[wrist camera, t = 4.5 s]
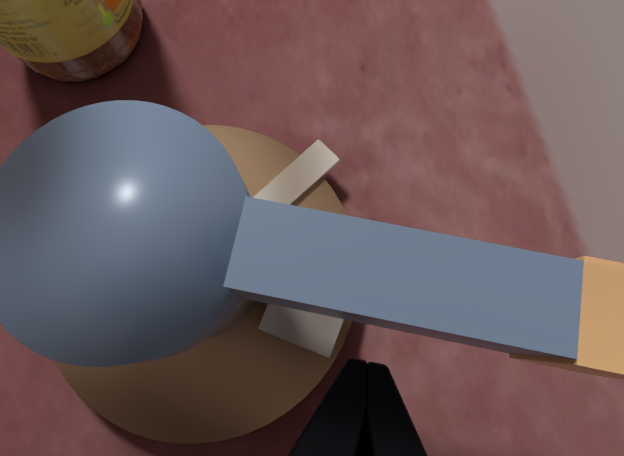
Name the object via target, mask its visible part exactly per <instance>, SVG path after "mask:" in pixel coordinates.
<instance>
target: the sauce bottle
mask: <svg viewBox="0 0 624 456" xmlns="http://www.w3.org/2000/svg"><path fill="white" fill-rule="evenodd" d="M142 19H143V13H142V3H141V1H140V0H0V46H1V47H3V48H4V49H5V50H7V51H8V52H9V53H11V54H12V55H14V56H16V57H18V58H19V59H20V60H21V61H23V62H24V63H25V64H26V65H27V66H29V67H30V68H31V69H33V70H34V71H35V72H38V73H41V74H43V75H45V76H47V77H50V78H52V79H55V80H58V81H64V82H66V81H74V82H81V81H85V80H87V79H92V78H97V77H99V76H100V75H102V74H104V73H106V72H109V71H111V70H112V69H113V68H115V67H117V66H118V65H120V64H121V63H122V62H124V61H125V60H126V59H127V58H128V56H129V55H130V54H131V52H132V51H133V50H134V48H135V46H136V44H137V42H138V40H139V38H140V34H141V29H142Z"/></svg>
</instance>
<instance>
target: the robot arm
mask: <svg viewBox="0 0 624 456" xmlns="http://www.w3.org/2000/svg"><path fill="white" fill-rule="evenodd" d="M288 456H427V454H426V451H425V449H424V447H423V445H422V442H421V440H420V438H419V436H418V433H417V431H416V429H415V427H414V424H413V422H412V420H411V418H410V415H409V413H408V411H407V409H406V406H405V404H404V402H403V400H402V398H401V395H400V393H399V391H398V389H397V386H396V384H395V382H394V380H393V377H392V375H391V373H390V371H389V369H388V367H387V366H386V365H384V364H380V363H375V362H368V363H367V362H366V361H365V360H361V359H356V358H348V359H347V360H346V362H345V364H344V365H343V367H342V368H341V370H340V372H339V373H338V375H337V377H336V378H335V380H334V381H333V383H332V385H331V386H330V388H329V389H328V391H327V393H326V394H325V396H324V398H323V399H322V401H321V402H320V404H319V406H318V407H317V409H316V411H315V412H314V414H313V415H312V417H311V419H310V420H309V422H308V424H307V425H306V427H305V428H304V430H303V432H302V433H301V435H300V436H299V438H298V440H297V441H296V443H295V445H294V446H293V448H292V449H291V451H290V453H289V454H288Z"/></svg>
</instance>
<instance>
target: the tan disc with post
mask: <svg viewBox="0 0 624 456" xmlns="http://www.w3.org/2000/svg"><path fill="white" fill-rule="evenodd" d="M202 126H204V127H205V128H207V129H208V130H209V131H210V132H211V133H212V134H213V135H214V136H215V137H216V138H217V139H218V140H219V141H220V143H221V144H222V145H223V147H224V148H225V149H226V150H227V152H228V153H229V155H230V157H231V158H232V160H233V162H234V164H235V165H236V167H237V169H238V171H239V173H240V175H241V177H242V179H243V181H244V183H245V185H246V187H247V189H248V191H249V193H250V196H251V197H253V198H258V199H263V200H268V201H274V202H279V203H284V204H289V205H294V206H300V207H305V208H310V209H315V210H321V211H326V212H331V213H336V214H341V215H346V213H345V211H344V208H343V206H342V204H341V202H340V201H339V199H338V197H337V196H336V194H335V192H334V191H333V189H332V187H331V186H330V185H329V184H328V182H327V181H326V180H325V179H324V178H323V176H324V175H325V174H326V173H327V172H328V171H329V170H330V169H332V168H333V167H334V166H335V165H336V164H337V163H338V162H339V161H340V159H339V158H338V157H337V156H336V155H334V154H333V153H332V152H331V151H330V150H329V149H328V148H327V147H326V146H325V145H324V144H323V143H322V142H321V141H320V140H319V139H318V140H317V141H316V142H315V143H313V144H312V145H311V146H310V147H309V148H308V149H307V150H306V151H304V152H303V153H302V154H301V155H299V154H298V153H296V152H295V151H293V150H292V149H291V148H289V147H287V146H285V145H284V144H282V143H280V142H278V141H276V140H274V139H272V138H270V137H267V136H264V135H262V134H259V133H257V132H253V131H249V130H245V129H241V128H237V127H229V126H221V125H202ZM351 323H352V321H350V320H345V319H340V318H335V317H331V316H326V315H321V314H316V313H311V312H306V311H302V310H297V309H292V308H287V307H282V306H277V305H273V304H268V303H263V302H258V301H253V300H248V299H246V298H243V300H242V302H241V303H240V305H239V306H238V308H237V309H236V311H235V312H234V313H233V314H232V316H231V317H230V318H229V319H228V320H227V321H226V322H225V323H224V324H223V325H222V326H221V327H220V328H219V329H218V330H217V331H216V332H215V333H214V334H212V335H211V336H210V337H208V338H207V339H206V340H204V341H203V342H201V343H199V344H198V345H196V346H194V347H192V348H191V349H189V350H186V351H184V352H182V353H179V354H177V355H174V356H171V357H167V358H163V359H160V360H154V361H147V362H139V363H132V364H125V365H117V366H110V367H83V366H76V365H69V364H65V363H62V362H58V361H55V362H56V364H57V366H58V367H59V369H60V371H61V372H62V374H63V376H64V377H65V379H66V381H67V382H68V383H69V384H70V386H71V387H72V388H73V389H74V391H75V392H76V393H77V394H78V396H79V397H80V398H81V399H82V400H83V401H84V402H85V403H87V404H88V405H89V406H90V407H91V408H92V409H93V410H94V411H95V412H96V413H98V414H99V415H101V416H102V417H104V418H105V419H107V420H108V421H110V422H111V423H113V424H114V425H116V426H119V427H121V428H123V429H125V430H127V431H129V432H131V433H133V434H136V435H139V436H143V437H146V438H149V439H152V440H156V441H163V442H169V443H176V444H203V443H210V442H218V441H224V440H227V439H231V438H235V437H238V436H242V435H245V434H247V433H250V432H252V431H254V430H257V429H259V428H261V427H264V426H266V425H267V424H269V423H271V422H272V421H274V420H276V419H277V418H279V417H281V416H282V415H284V414H285V413H287V412H288V411H289V410H290V409H292V408H293V407H294V406H295V405H297V404H298V403H299V402H300V401H302V400H303V399H304V398H305V397H306V396H307V395H308V394H309V393H310V392H311V391H312V390H313V389H314V387H315V386H316V385H317V384H318V383H319V382H320V381H321V379H322V378H323V377H324V375H325V374H326V373H327V371H328V370H329V368H330V367H331V366H332V364H333V362H334V361H335V359H336V357H337V355H338V353H339V352H340V350H341V348H342V346H343V344H344V341H345V339H346V336H347V334H348V331H349V329H350V326H351Z"/></svg>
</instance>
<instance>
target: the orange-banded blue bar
mask: <svg viewBox="0 0 624 456" xmlns="http://www.w3.org/2000/svg"><path fill="white" fill-rule="evenodd" d="M243 298H246V299H248V300H253V301H258V302H263V303H268V304H273V305H277V306H282V307H287V308H292V309H297V310H302V311H306V312H311V313H316V314H321V315H326V316H331V317H335V318H340V319H345V320H350V321H355V322H360V323H365V324H369V325H374V326H379V327H384V328H389V329H394V330H398V331H403V332H408V333H413V334H418V335H423V336H427V337H432V338H437V339H442V340H447V341H452V342H457V343H461V344H466V345H471V346H476V347H481V348H486V349H490V350H495V351H500V352H505V353H510V354H509V358H513V359H518V360H523V361H528V362H532V363H537V364H542V365H547V366H552V367H557V368H561V369H566V370H571V371H576V372H581V373H586V374H590V375H596V376H603V377H610V378H618V379H624V263H620V262H615V261H609V260H604V259H599V258H594V257H588V256H582V257H579V258H575V259H571V258H566V257H561V256H556V255H550V254H545V253H540V252H535V251H530V250H524V249H519V248H514V247H509V246H503V245H498V244H493V243H488V242H482V241H477V240H472V239H467V238H462V237H456V236H451V235H446V234H441V233H435V232H430V231H425V230H420V229H415V228H409V227H404V226H399V225H394V224H388V223H383V222H378V221H373V220H368V219H362V218H357V217H352V216H347V215H341V214H336V213H331V212H326V211H321V210H315V209H310V208H305V207H300V206H294V205H289V204H284V203H279V202H274V201H268V200H263V199H258V198H253V197H251V196H250V193H249V191H248V189H247V187H246V185H245V183H244V181H243V179H242V177H241V175H240V173H239V171H238V169H237V167H236V165H235V164H234V162H233V160H232V158H231V157H230V155H229V153H228V152H227V150H226V149H225V148H224V147H223V145H222V144H221V143H220V141H219V140H218V139H217V138H216V137H215V136H214V135H213V134H212V133H211V132H210V131H209V130H208V129H207V128H205V127H204V126H202V125H201V124H200V123H198V122H197V121H196V120H194V119H193V118H191V117H189V116H187V115H185V114H183V113H182V112H180V111H177V110H174V109H172V108H169V107H167V106H163V105H159V104H155V103H151V102H144V101H136V100H115V101H107V102H100V103H95V104H91V105H87V106H83V107H80V108H78V109H75V110H72V111H70V112H67V113H65V114H63V115H61V116H59V117H57V118H55V119H53V120H51V121H50V122H48V123H47V124H45V125H43V126H42V127H40V128H39V129H37V130H36V131H35V132H34V133H32V134H31V135H30V136H29V137H27V138H26V139H25V140H24V141H23V142H22V143H21V144H20V145H19V146H18V147H17V148H16V149H15V150H14V151H13V152H12V153H11V154H10V155H9V157H8V158H7V159H6V161H5V162H4V163H3V164H2V166H1V167H0V323H1V324H2V326H3V327H4V328H5V329H6V330H7V331H8V332H9V333H10V334H11V335H12V336H13V337H14V338H15V339H17V340H18V341H19V342H20V343H22V344H23V345H25V346H26V347H28V348H29V349H31V350H32V351H34V352H36V353H38V354H40V355H42V356H45V357H47V358H49V359H52V360H55V361H58V362H62V363H65V364H69V365H76V366H83V367H110V366H117V365H125V364H132V363H139V362H147V361H154V360H160V359H163V358H167V357H171V356H174V355H177V354H179V353H182V352H184V351H186V350H189V349H191V348H192V347H194V346H196V345H198V344H199V343H201V342H203V341H204V340H206V339H207V338H208V337H210V336H211V335H212V334H214V333H215V332H216V331H217V330H218V329H219V328H220V327H221V326H222V325H223V324H224V323H225V322H226V321H227V320H228V319H229V318H230V317H231V316H232V314H233V313H234V312H235V311H236V309H237V308H238V306H239V305H240V303H241V302H242V300H243Z"/></svg>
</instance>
